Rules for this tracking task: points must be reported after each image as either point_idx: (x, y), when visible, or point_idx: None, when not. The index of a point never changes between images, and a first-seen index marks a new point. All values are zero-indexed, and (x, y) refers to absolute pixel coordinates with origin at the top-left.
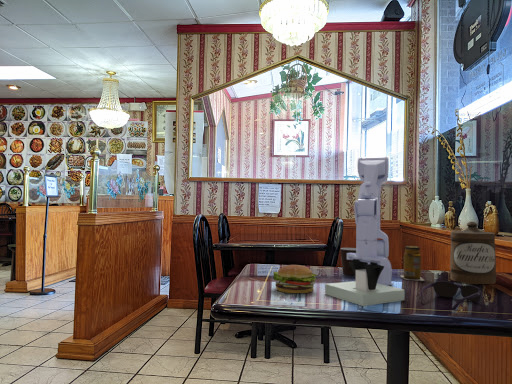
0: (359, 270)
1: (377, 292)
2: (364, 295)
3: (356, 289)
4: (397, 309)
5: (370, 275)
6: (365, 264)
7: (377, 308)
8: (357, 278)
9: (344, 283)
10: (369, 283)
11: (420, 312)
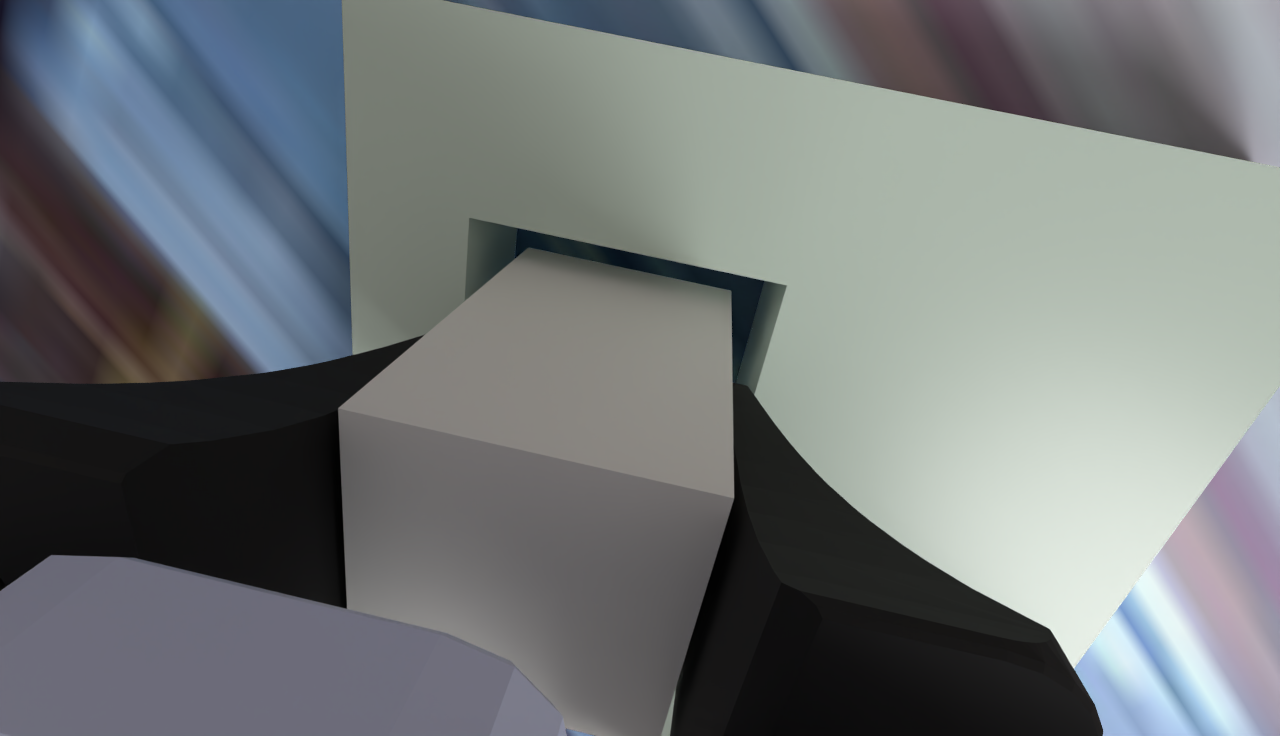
0: (597, 485)
1: (375, 334)
2: (348, 19)
3: (709, 301)
4: (166, 229)
5: (253, 374)
6: (108, 506)
7: (269, 69)
8: (675, 375)
9: (1087, 506)
10: (414, 342)
11: (19, 305)
